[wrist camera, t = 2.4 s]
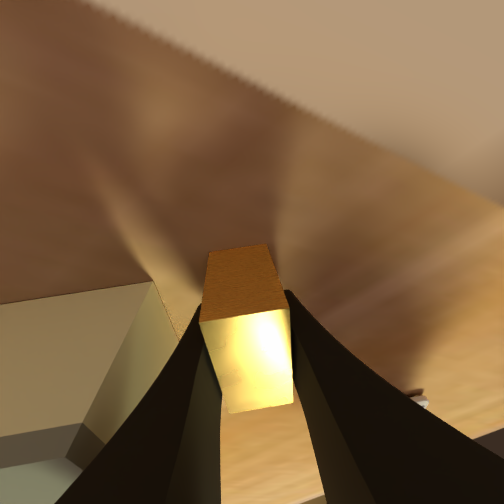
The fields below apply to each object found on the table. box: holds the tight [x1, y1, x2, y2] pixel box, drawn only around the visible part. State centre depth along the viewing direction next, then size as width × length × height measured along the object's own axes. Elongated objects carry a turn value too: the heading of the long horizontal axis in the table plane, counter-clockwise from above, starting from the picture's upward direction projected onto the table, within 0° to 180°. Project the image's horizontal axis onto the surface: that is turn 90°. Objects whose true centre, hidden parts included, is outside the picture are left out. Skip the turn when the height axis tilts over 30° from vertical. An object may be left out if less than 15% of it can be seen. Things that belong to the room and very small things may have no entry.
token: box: [199, 244, 293, 414], centre depth 9 cm, size 5×2×4 cm, turn 6°
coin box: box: [0, 281, 179, 504], centre depth 10 cm, size 12×10×6 cm
